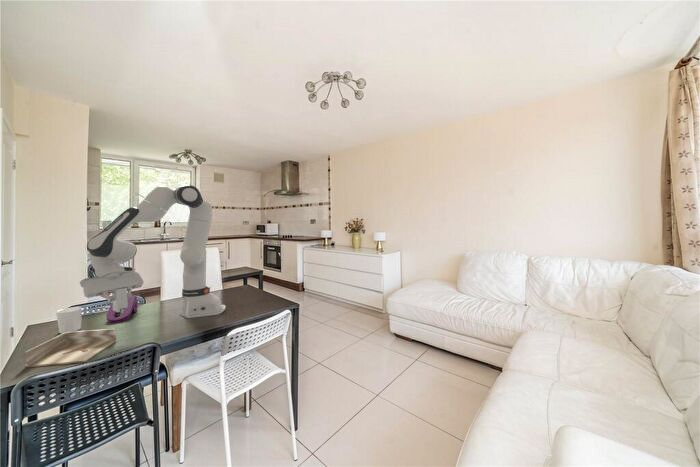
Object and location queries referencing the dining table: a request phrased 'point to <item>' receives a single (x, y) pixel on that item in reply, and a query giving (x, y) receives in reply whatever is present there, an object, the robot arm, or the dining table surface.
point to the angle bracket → (119, 299)
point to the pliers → (103, 310)
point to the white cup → (69, 319)
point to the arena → (70, 347)
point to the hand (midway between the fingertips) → (120, 298)
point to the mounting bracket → (126, 313)
